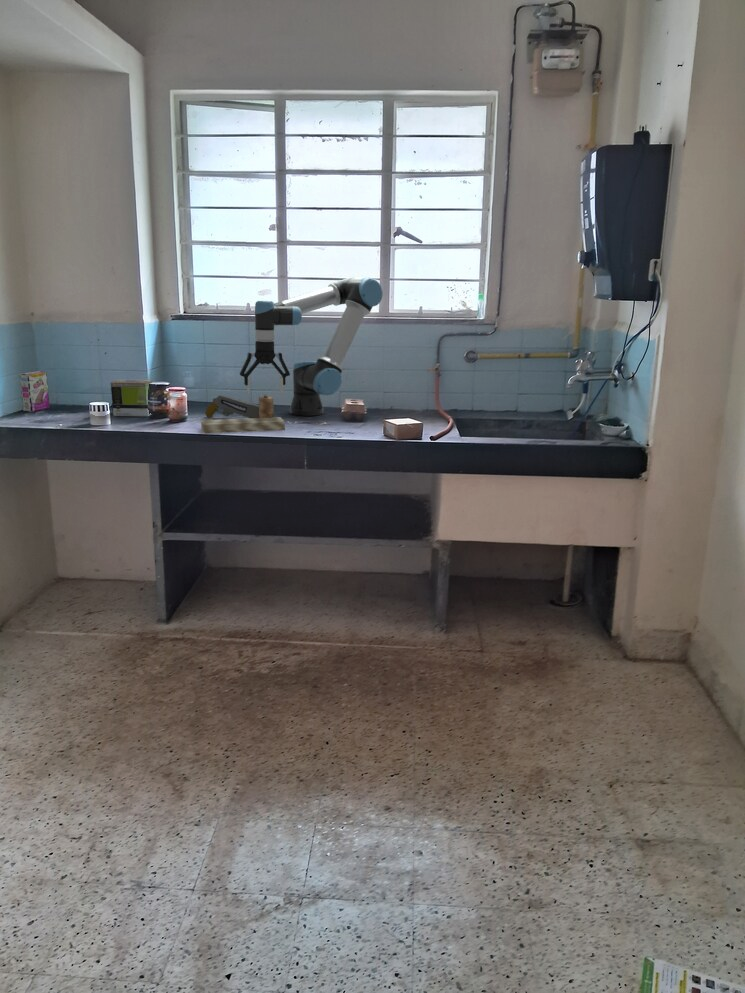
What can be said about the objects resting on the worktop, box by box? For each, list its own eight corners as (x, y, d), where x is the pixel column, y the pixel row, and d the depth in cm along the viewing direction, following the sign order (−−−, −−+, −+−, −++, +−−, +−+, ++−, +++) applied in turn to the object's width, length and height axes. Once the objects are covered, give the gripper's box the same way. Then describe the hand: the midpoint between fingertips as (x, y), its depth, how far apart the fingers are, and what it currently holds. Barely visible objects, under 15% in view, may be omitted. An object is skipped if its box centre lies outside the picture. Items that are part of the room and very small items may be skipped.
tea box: (154, 413, 321) (152, 379, 317) (147, 417, 311) (145, 382, 307) (120, 412, 321) (118, 378, 317) (112, 416, 312) (109, 381, 307)
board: (280, 425, 302) (280, 417, 301) (284, 429, 293) (284, 421, 292) (201, 428, 292) (200, 420, 291) (203, 433, 284) (203, 424, 283)
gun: (254, 440, 313) (266, 409, 308) (202, 416, 313) (214, 384, 308) (257, 438, 316) (269, 407, 311) (205, 414, 316) (216, 383, 311)
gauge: (271, 422, 307) (270, 394, 303) (277, 428, 296) (276, 399, 292) (259, 423, 305) (258, 394, 302) (264, 429, 294) (264, 399, 291)
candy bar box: (32, 412, 315) (27, 374, 310) (23, 411, 316) (18, 373, 311) (50, 408, 325) (46, 371, 320) (41, 407, 327) (37, 370, 322)
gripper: (293, 339, 301) (292, 391, 307) (232, 339, 293) (233, 392, 299) (297, 341, 294) (296, 394, 300) (234, 341, 286) (235, 395, 292)
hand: (265, 393), depth 300 cm, fingers open, 13 cm apart
